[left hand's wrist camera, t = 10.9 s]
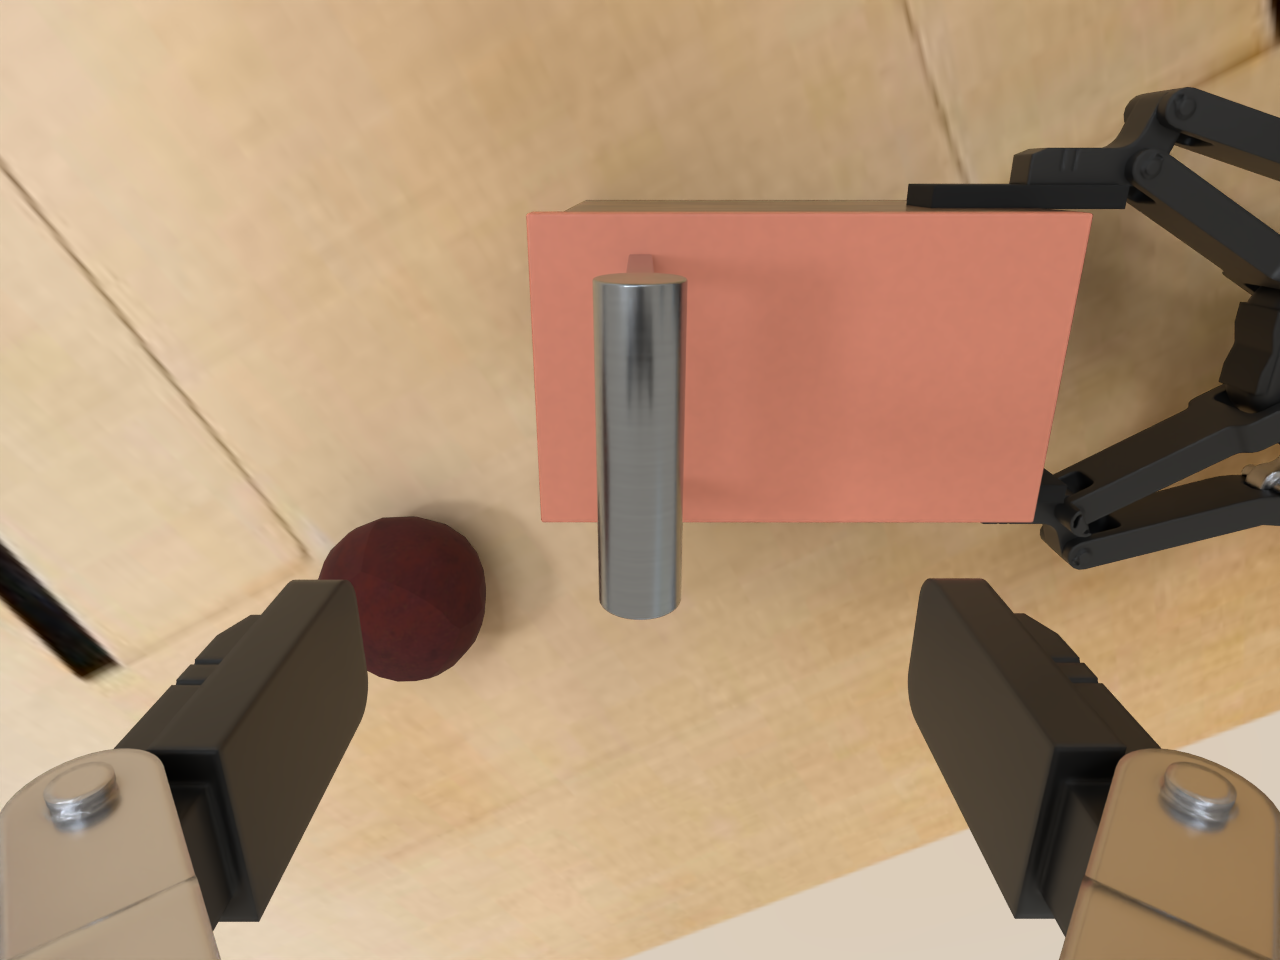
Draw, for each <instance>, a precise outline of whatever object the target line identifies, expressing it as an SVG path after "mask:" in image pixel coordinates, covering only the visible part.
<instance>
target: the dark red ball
mask: <svg viewBox="0 0 1280 960" xmlns="http://www.w3.org/2000/svg"><path fill="white" fill-rule="evenodd" d="M318 580H348V581H350V582H351V584H352V585H353V587H354V590H355V593H356V599H357V605H358V612H359V619H360V626H361V633H362V639H363V646H364V653H365V660H366V667H367V671H369V672H371V673H373V674H375V675H377V676H379V677H382V678H386V679H390V680H394V681H418V680H423V679H428V678H432V677H434V676H437V675H439V674H441V673H442V672H444V671H446V670H447V669H449V668H451V667H452V666H454V665H455V664H456V662H457V661H458V660H459V659H460V658H461V657H462V656H463V655H464V654H465V653H466V652H467V650H468V649H469V648H470V647H471V645H472V644H473V643H474V642H475V640H476V638H477V635H478V633H479V630H480V628H481V625H482V622H483V617H484V613H485V600H486V585H485V578H484V571H483V568H482V565H481V562H480V559H479V557H478V554H477V552H476V551H475V550H474V548H473V547H472V546H471V544H470V543H469V542H468V540H467V539H466V538H465V537H464V536H462V535H461V534H459V533H458V532H457V531H455V530H454V529H452V528H451V527H449V526H448V525H446V524H442V523H438V522H434V521H431V520H427V519H423V518H419V517H389V518H381V519H378V520H376V521H373V522H371V523H368V524H365V525H363V526H360V527H358V528H356V529H354V530H353V531H351V532H350V533H348V534H347V535H346V536H345V537H344V538H343V539H342V540H341V541H340V542H339V543H338V544H337V545H336V546H335V547H334V548H333V549H332V550H331V551H330V553H329V554H328V556H327V558H326V560H325V561H324V564H323V567H322V570H321V573H320V576H319V578H318Z"/></svg>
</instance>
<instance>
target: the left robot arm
mask: <svg viewBox="0 0 1280 960" xmlns="http://www.w3.org/2000/svg"><path fill="white" fill-rule="evenodd" d="M1079 659H1080V658H1079V657H1078V656H1077V655H1076V653H1075V652H1074V651H1073V650H1072V649H1071V648H1070V647H1069V646H1068V645H1067V644H1066V642H1065V641H1064V640H1063V639H1062V638H1061V637H1060V636H1059V635H1058V634H1057V633H1055V632H1054V631H1052V630H1051V629H1049V628H1047V627H1046V626H1044V625H1042V624H1041V623H1039V622H1037V621H1036V620H1034V619H1032V618H1031V617H1029V616H1028V615H1026V614H1024V613H1013V612H1012V611H1011V610H1010V608H1009V607H1008V606H1007V605H1006V604H1005V602H1004V601H1003V600H1002V599H1001V598H1000V597H999V595H998V594H997V593H996V592H995V591H994V589H993V588H992V587H991V586H990V585H989V584H988V582H987V581H985V580H984V579H927V580H926V581H925V582H924V583H923V585H922V588H921V591H920V596H919V602H918V609H917V616H916V623H915V630H914V637H913V644H912V651H911V658H910V665H909V672H908V693H909V701H910V706H911V710H912V713H913V716H914V718H915V721H916V723H917V725H918V727H919V729H920V731H921V733H922V735H923V737H924V739H925V741H926V743H927V745H928V747H929V749H930V751H931V753H932V755H933V757H934V759H935V761H936V763H937V765H938V767H939V768H940V770H941V772H942V774H943V776H944V778H945V780H946V782H947V784H948V786H949V788H950V790H951V792H952V794H953V796H954V798H955V800H956V802H957V804H958V806H959V808H960V810H961V812H962V814H963V816H964V818H965V820H966V822H967V824H968V826H969V828H970V830H971V832H972V834H973V836H974V838H975V840H976V842H977V844H978V846H979V848H980V850H981V852H982V854H983V856H984V858H985V860H986V862H987V864H988V866H989V868H990V870H991V872H992V874H993V876H994V878H995V880H996V882H997V884H998V886H999V888H1000V890H1001V892H1002V894H1003V896H1004V898H1005V900H1006V902H1007V904H1008V906H1009V908H1010V910H1011V912H1012V914H1013V916H1014V918H1015V919H1056V921H1057V923H1058V925H1059V927H1060V929H1061V930H1062V932H1063V934H1064V936H1065V941H1064V945H1063V948H1062V951H1061V955H1060V958H1059V960H1280V812H1279V811H1278V809H1277V808H1276V806H1275V805H1274V803H1273V802H1272V801H1271V800H1270V799H1269V798H1268V797H1267V796H1266V795H1265V794H1264V793H1263V792H1262V791H1261V790H1259V789H1258V788H1257V787H1256V786H1255V785H1253V784H1252V783H1250V782H1249V781H1248V780H1246V779H1245V778H1243V777H1242V776H1240V775H1238V774H1237V773H1235V772H1233V771H1231V770H1230V769H1228V768H1226V767H1223V766H1221V765H1219V764H1217V763H1215V762H1212V761H1210V760H1207V759H1205V758H1202V757H1199V756H1196V755H1192V754H1189V753H1185V752H1180V751H1176V750H1168V749H1161V748H1160V746H1159V745H1158V744H1157V743H1156V742H1155V741H1154V740H1153V739H1152V738H1151V737H1150V735H1149V734H1148V733H1147V732H1146V731H1145V730H1144V729H1143V728H1142V727H1141V725H1140V724H1139V723H1138V722H1137V721H1136V720H1135V719H1134V718H1133V717H1132V715H1131V714H1130V713H1129V712H1128V711H1127V710H1126V709H1125V708H1124V707H1123V706H1122V704H1121V703H1120V702H1119V701H1118V700H1117V699H1116V698H1115V697H1114V696H1113V694H1112V693H1111V692H1110V691H1109V690H1108V689H1107V688H1106V687H1105V686H1104V684H1103V683H1098V678H1097V677H1096V676H1095V675H1094V673H1093V672H1092V671H1091V670H1090V669H1089V668H1088V667H1087V666H1086V665H1085V663H1080V660H1079ZM176 681H177V683H176V685H171V686H170V688H169V689H168V690H167V691H166V692H165V693H164V694H163V695H162V696H161V697H160V699H159V700H158V701H157V702H156V703H155V704H154V705H153V706H152V707H151V708H150V709H149V711H148V712H147V713H146V714H145V715H144V716H143V717H142V718H141V719H140V720H139V722H138V723H137V724H136V725H135V726H134V727H133V728H132V729H131V730H130V731H129V733H128V734H127V735H126V736H125V737H124V738H123V739H122V740H121V741H120V742H119V743H118V745H117V746H116V747H115V748H114V749H112V750H104V751H100V752H95V753H91V754H88V755H84V756H81V757H78V758H75V759H73V760H70V761H68V762H65V763H63V764H61V765H59V766H57V767H54V768H52V769H50V770H49V771H47V772H45V773H43V774H42V775H40V776H38V777H37V778H35V779H34V780H32V781H31V782H29V783H28V784H27V785H25V786H24V787H23V788H22V789H21V790H19V791H18V792H17V793H16V794H15V795H14V796H13V797H12V798H11V799H10V800H9V801H8V802H7V803H6V805H5V806H4V808H3V809H2V810H1V812H0V960H221V958H220V955H219V951H218V948H217V944H216V941H215V938H214V934H213V930H214V929H215V927H216V925H217V923H218V922H259V921H260V919H261V917H262V915H263V913H264V911H265V909H266V907H267V905H268V903H269V901H270V899H271V897H272V895H273V893H274V891H275V889H276V887H277V885H278V883H279V881H280V879H281V877H282V875H283V873H284V872H285V870H286V868H287V866H288V864H289V862H290V860H291V858H292V856H293V854H294V852H295V850H296V848H297V846H298V844H299V842H300V840H301V838H302V836H303V834H304V832H305V830H306V828H307V826H308V824H309V822H310V820H311V818H312V816H313V814H314V812H315V810H316V809H317V807H318V805H319V803H320V801H321V799H322V797H323V795H324V793H325V791H326V789H327V787H328V785H329V783H330V781H331V779H332V777H333V775H334V773H335V771H336V769H337V767H338V765H339V763H340V761H341V759H342V757H343V755H344V753H345V751H346V749H347V747H348V745H349V744H350V742H351V740H352V738H353V736H354V734H355V732H356V730H357V728H358V726H359V724H360V722H361V720H362V717H363V714H364V711H365V707H366V702H367V694H368V674H367V667H366V660H365V653H364V646H363V639H362V633H361V626H360V619H359V612H358V605H357V599H356V593H355V590H354V587H353V585H352V584H351V582H350V581H348V580H292V581H290V582H289V583H288V584H287V585H286V586H285V587H284V589H283V590H282V591H281V592H280V593H279V594H278V596H277V597H276V598H275V599H274V600H273V601H272V603H271V604H270V605H269V606H268V607H267V608H266V610H265V611H264V612H263V613H262V614H261V615H250V616H248V617H247V618H245V619H243V620H242V621H240V622H238V623H237V624H235V625H233V626H232V627H230V628H229V629H227V630H225V631H224V632H222V633H220V634H219V635H217V636H216V637H215V638H214V639H213V640H212V641H211V643H210V644H209V645H208V646H207V647H206V648H205V649H204V650H203V651H202V652H201V654H200V655H199V656H198V657H197V658H196V659H195V664H194V665H190V666H189V667H188V668H187V669H186V670H185V671H184V672H183V673H182V674H181V675H180V677H179V678H178V679H177V680H176Z"/></svg>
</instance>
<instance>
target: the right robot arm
mask: <svg viewBox="0 0 1280 960" xmlns="http://www.w3.org/2000/svg"><path fill="white" fill-rule="evenodd" d="M1124 122H1125V124H1124V126H1123V128H1122V130H1121V132H1120V133H1119V135H1118V136H1117V138H1116V139H1115V140H1114V141H1113V142H1112V143H1110V144H1109V145H1107V146H1106V147H1103V148H1038V149H1028V150H1025V151H1023V152H1020V153H1018V154H1016V155H1014V158H1013V164H1012V170H1011V177H1010V183H1009V184H909V186H908V194H907V203H906V205H910V206H918V207H926V208H1042V209H1125V206H1126V202H1127V203H1129V204H1130V205H1132V206H1133V207H1134V208H1136V209H1137V210H1139V211H1140V212H1142V213H1143V214H1144V215H1146V216H1147V217H1149V218H1150V219H1151V220H1153V221H1154V222H1156V223H1157V224H1159V225H1160V226H1161V227H1163V228H1164V229H1166V230H1167V231H1169V232H1170V233H1171V234H1173V235H1174V236H1176V237H1177V238H1178V239H1180V240H1181V241H1183V242H1184V243H1186V244H1187V245H1188V246H1190V247H1191V248H1193V249H1194V250H1196V251H1197V252H1198V253H1200V254H1201V255H1203V256H1204V257H1205V258H1207V259H1208V260H1210V261H1211V262H1213V263H1214V264H1215V265H1217V266H1218V267H1220V268H1221V269H1222V270H1223V272H1222V273H1223V275H1225V276H1226V277H1227V278H1229V279H1230V280H1231V281H1233V282H1234V283H1236V284H1237V285H1238V286H1240V287H1241V288H1243V289H1244V290H1246V291H1247V292H1248V293H1250V294H1251V295H1252V296H1251V297H1250V299H1249V301H1248V302H1240V304H1239V308H1238V312H1237V316H1236V319H1235V342H1234V345H1233V347H1232V349H1231V350H1230V352H1229V354H1228V356H1227V358H1226V360H1225V362H1224V364H1223V368H1222V372H1221V375H1220V379H1219V382H1221V383H1223V384H1222V385H1220V386H1218V387H1216V388H1214V389H1212V390H1210V391H1208V392H1206V393H1204V394H1202V395H1200V396H1198V397H1196V398H1194V399H1192V400H1191V401H1190V402H1189V405H1188V408H1187V409H1186V410H1184V411H1182V412H1180V413H1178V414H1176V415H1174V416H1172V417H1170V418H1168V419H1166V420H1164V421H1162V422H1160V423H1158V424H1156V425H1154V426H1152V427H1150V428H1147V429H1145V430H1143V431H1141V432H1139V433H1137V434H1135V435H1133V436H1131V437H1129V438H1127V439H1125V440H1123V441H1121V442H1119V443H1117V444H1115V445H1113V446H1111V447H1109V448H1107V449H1105V450H1103V451H1101V452H1099V453H1097V454H1094V455H1092V456H1090V457H1088V458H1086V459H1084V460H1082V461H1080V462H1078V463H1076V464H1074V465H1072V466H1070V467H1068V468H1066V469H1064V470H1062V471H1060V472H1058V473H1056V474H1054V475H1053V474H1051V473H1050V472H1048V471H1047V470H1046V469H1043V474H1042V479H1041V484H1040V489H1039V494H1038V499H1037V505H1036V510H1035V515H1034V520H1033V522H980V523H983V524H997V523H999V524H1007V523H1009V524H1042V525H1043V526H1042V527H1041V529H1040V536H1041V539H1042V540H1043V541H1045V542H1046V543H1047V544H1048V545H1049V546H1050V547H1051V548H1052V549H1053V550H1054V551H1055V552H1056V553H1057V554H1058V555H1059V556H1061V557H1062V558H1063V559H1064V560H1065V561H1066V562H1067V563H1069V564H1070V565H1071V566H1072V567H1073V568H1075V569H1079V570H1080V569H1087V568H1091V567H1095V566H1099V565H1104V564H1108V563H1112V562H1116V561H1120V560H1124V559H1128V558H1132V557H1136V556H1140V555H1144V554H1148V553H1152V552H1156V551H1160V550H1164V549H1168V548H1172V547H1176V546H1180V545H1184V544H1188V543H1192V542H1196V541H1200V540H1204V539H1208V538H1212V537H1216V536H1220V535H1224V534H1228V533H1232V532H1236V531H1240V530H1244V529H1248V528H1252V527H1256V526H1260V525H1274V526H1280V456H1279V457H1278V458H1277V459H1275V460H1274V461H1272V462H1269V463H1264V464H1260V465H1257V466H1255V465H1247V466H1245V467H1244V468H1243V470H1242V475H1227V476H1218V477H1214V478H1209V479H1205V480H1201V481H1197V482H1193V483H1189V484H1185V485H1181V486H1177V487H1173V488H1169V489H1166V490H1162V491H1159V490H1161V489H1163V488H1165V487H1167V486H1169V485H1171V484H1173V483H1175V482H1178V481H1180V480H1182V479H1184V478H1186V477H1188V476H1190V475H1192V474H1194V473H1197V472H1199V471H1201V470H1203V469H1205V468H1207V467H1209V466H1211V465H1213V464H1215V463H1218V462H1220V461H1222V460H1224V459H1226V458H1228V457H1230V456H1232V455H1235V454H1237V453H1253V452H1258V451H1261V450H1264V449H1266V448H1268V447H1270V446H1272V445H1274V444H1277V443H1278V444H1280V235H1279V234H1278V233H1277V232H1275V231H1274V230H1273V229H1271V228H1270V227H1268V226H1267V225H1266V224H1264V223H1263V222H1262V221H1260V220H1259V219H1257V218H1256V217H1255V216H1253V215H1252V214H1251V213H1249V212H1248V211H1246V210H1245V209H1244V208H1242V207H1241V206H1240V205H1238V204H1237V203H1235V202H1234V201H1233V200H1231V199H1230V198H1229V197H1227V196H1226V195H1224V194H1223V193H1222V192H1220V191H1219V190H1218V189H1216V188H1215V187H1213V186H1212V185H1211V184H1209V183H1208V182H1207V181H1205V180H1204V179H1202V178H1201V177H1200V176H1198V175H1197V174H1196V173H1194V172H1193V171H1192V170H1190V169H1189V168H1187V167H1186V166H1185V165H1183V164H1182V163H1181V162H1179V161H1178V160H1176V159H1175V158H1174V157H1172V156H1171V155H1170V154H1169V153H1170V151H1171V150H1172V148H1173V146H1174V145H1176V146H1179V147H1182V148H1185V149H1187V150H1190V151H1193V152H1196V153H1199V154H1202V155H1205V156H1208V157H1211V158H1214V159H1216V160H1219V161H1222V162H1225V163H1228V164H1231V165H1234V166H1237V167H1240V168H1243V169H1246V170H1248V171H1251V172H1254V173H1257V174H1260V175H1263V176H1266V177H1269V178H1272V179H1275V180H1278V181H1280V118H1278V117H1275V116H1273V115H1270V114H1267V113H1264V112H1261V111H1258V110H1256V109H1253V108H1250V107H1247V106H1244V105H1241V104H1239V103H1236V102H1233V101H1230V100H1227V99H1224V98H1222V97H1219V96H1216V95H1213V94H1210V93H1207V92H1205V91H1202V90H1199V89H1196V88H1191V87H1185V88H1179V89H1172V90H1166V91H1159V92H1153V93H1146V94H1141V95H1138V96H1136V97H1135V98H1133V99H1132V100H1131V101H1130V102H1129V103H1128V105H1127V106H1126V108H1125V112H1124ZM1157 491H1158V492H1157Z"/></svg>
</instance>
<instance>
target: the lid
mask: <svg viewBox="0 0 1280 960" xmlns="http://www.w3.org/2000/svg"><path fill="white" fill-rule="evenodd" d="M1092 218H1093V214H1091V213H1085V212H531V213H528V214H527V216H526V220H527V240H528V260H529V281H530V301H531V321H532V341H533V362H534V382H535V402H536V422H537V443H538V463H539V483H540V503H541V520H542V522H598V561H599V600H600V603H601V605H602V607H603V608H604V609H605V610H606V611H608V612H609V613H611V614H613V615H616V616H618V617H622V618H627V619H635V620H645V619H653V618H658V617H662V616H664V615H667V614H669V613H671V612H672V611H674V610H675V609H676V608H677V607H678V605H679V604H680V601H681V569H682V522H1033V520H1034V515H1035V510H1036V505H1037V499H1038V494H1039V489H1040V484H1041V479H1042V474H1043V469H1044V464H1045V459H1046V453H1047V448H1048V443H1049V438H1050V433H1051V428H1052V423H1053V418H1054V412H1055V407H1056V402H1057V397H1058V392H1059V387H1060V382H1061V377H1062V372H1063V366H1064V361H1065V356H1066V351H1067V346H1068V341H1069V336H1070V331H1071V325H1072V320H1073V315H1074V310H1075V305H1076V300H1077V295H1078V290H1079V284H1080V279H1081V274H1082V269H1083V264H1084V259H1085V254H1086V249H1087V244H1088V238H1089V233H1090V228H1091V223H1092Z"/></svg>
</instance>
